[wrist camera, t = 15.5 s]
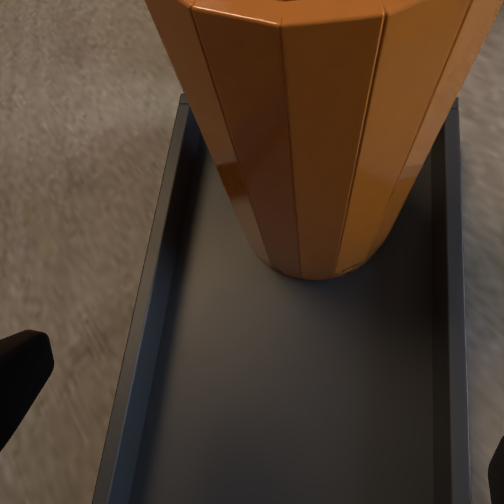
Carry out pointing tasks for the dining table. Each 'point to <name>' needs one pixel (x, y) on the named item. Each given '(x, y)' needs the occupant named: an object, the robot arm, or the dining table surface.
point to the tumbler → (320, 111)
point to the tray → (293, 356)
